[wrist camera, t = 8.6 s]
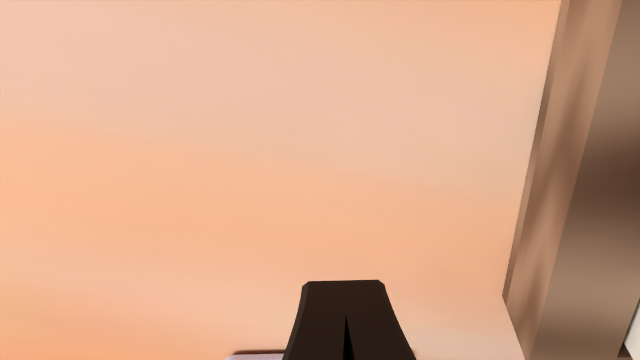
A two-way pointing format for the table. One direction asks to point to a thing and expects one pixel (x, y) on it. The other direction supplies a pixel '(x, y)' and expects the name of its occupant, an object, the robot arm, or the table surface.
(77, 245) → the table surface
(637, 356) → the ivory key
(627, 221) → the key box
